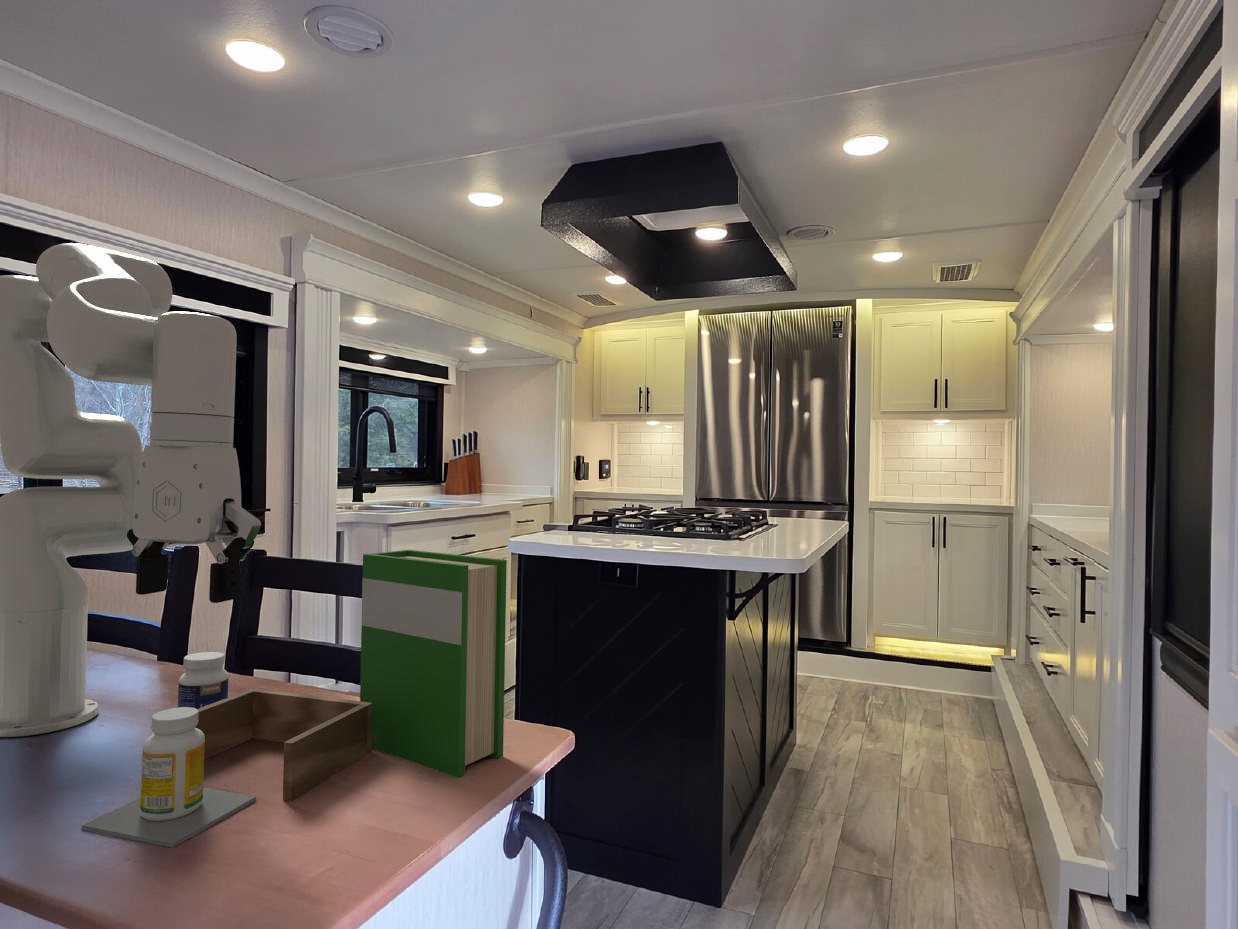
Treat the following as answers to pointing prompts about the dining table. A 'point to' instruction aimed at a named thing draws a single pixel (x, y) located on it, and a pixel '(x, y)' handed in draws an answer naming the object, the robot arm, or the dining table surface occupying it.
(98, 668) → the dining table surface
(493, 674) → the hardback book
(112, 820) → the grey mat
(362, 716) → the wooden u-shaped frame
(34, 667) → the robot arm
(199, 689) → the pill bottle
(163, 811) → the supplement bottle
